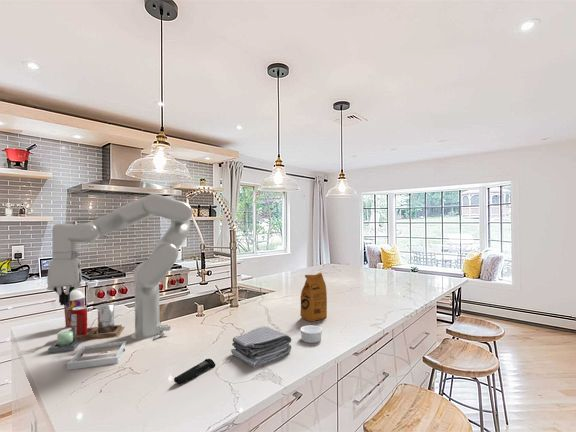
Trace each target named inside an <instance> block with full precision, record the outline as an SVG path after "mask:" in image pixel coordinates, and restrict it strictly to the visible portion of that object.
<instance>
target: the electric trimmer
mask: <svg viewBox="0 0 576 432" xmlns="http://www.w3.org/2000/svg"><path fill="white" fill-rule="evenodd" d="M215 366H216V363H215V361H214V360H213V359H212V358H205V359H204V360H203V361H202V362H200V363H199V362H198V364H196V365H194V366H193V367H191V368H189V369H187V370H185V371H184V372H183V373H181V374H178V375H177V376H175V377H174V378H173V382H174V383H175V384H179V385H182V384H185V383H186V382H188V381H191V380H193V379H195V378H197V376H198V375H199V374H201V373H203V372H205V371H207V370H208V369H210V368H215Z"/></svg>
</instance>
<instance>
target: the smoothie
mask: <svg viewBox="0 0 576 432" xmlns="http://www.w3.org/2000/svg"><path fill="white" fill-rule="evenodd" d="M85 304H86V295H85V293H83V292H82V291H81V290H80V289H74V290H73V291H71V293H70V302H69V303H68V304H67V305H63V309H64V319H65V320H64V321H65V322H64V323H65V326H66V327H67V328H71V312H72V309H73V308H75V307H80V306H85ZM85 307H86V306H85Z"/></svg>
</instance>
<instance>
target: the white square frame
mask: <svg viewBox="0 0 576 432" xmlns="http://www.w3.org/2000/svg"><path fill="white" fill-rule="evenodd" d="M126 345H127V340H125V341H124V340H123V341H116V342H115V341H114V342H108V343H98V344H97V343H95V344H89V345H82V346H81V347H80V348H79V350H78V351H77V352H76V353H75V354H74V356H73V357H72V358H71V359H70V360H69V362H68V363H67V370H74V369H75V370H76V369H82V368H84V369H85V368H91V367H98V366H99V367H100V366H105V365H113V364H118V363H119V362H120V359H121V358H122V356H123V354H124V352H125V350H126V349H125V346H126ZM112 346H120V347H119V349H118V351H117V352H116V354H115V356H109V357H100V358H93V359H86V360H80V359H81V358H82V356H83V355H84V353H83V352H84V351H85V350H87V349H96V348H97V349H98V348H103V347H105V348H106V347H112Z"/></svg>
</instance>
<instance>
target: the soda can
mask: <svg viewBox="0 0 576 432" xmlns="http://www.w3.org/2000/svg"><path fill="white" fill-rule="evenodd" d="M70 328H71V329H70V330H71V331H72V332H73V336H79V335H86V334H87V328H88V309H87V306H80V307H75V308H73V309H72V312H71V327H70Z"/></svg>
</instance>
